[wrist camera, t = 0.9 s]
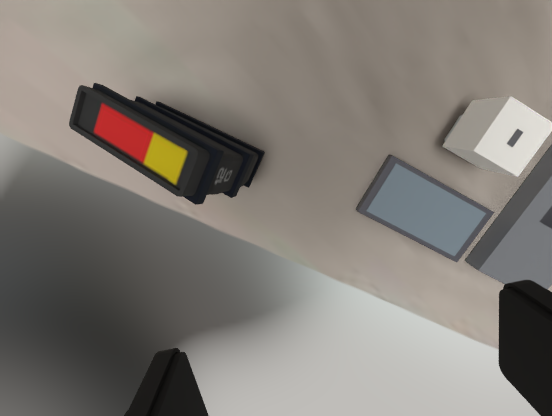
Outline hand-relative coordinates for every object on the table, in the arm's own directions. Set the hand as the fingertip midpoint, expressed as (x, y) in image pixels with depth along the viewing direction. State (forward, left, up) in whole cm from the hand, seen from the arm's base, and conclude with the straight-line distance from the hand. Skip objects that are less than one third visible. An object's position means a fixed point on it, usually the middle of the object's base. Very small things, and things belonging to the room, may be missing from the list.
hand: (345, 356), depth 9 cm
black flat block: (0, -11, -26) cm, 28 cm away
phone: (-4, +15, -25) cm, 30 cm away
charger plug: (-13, +14, -25) cm, 32 cm away
